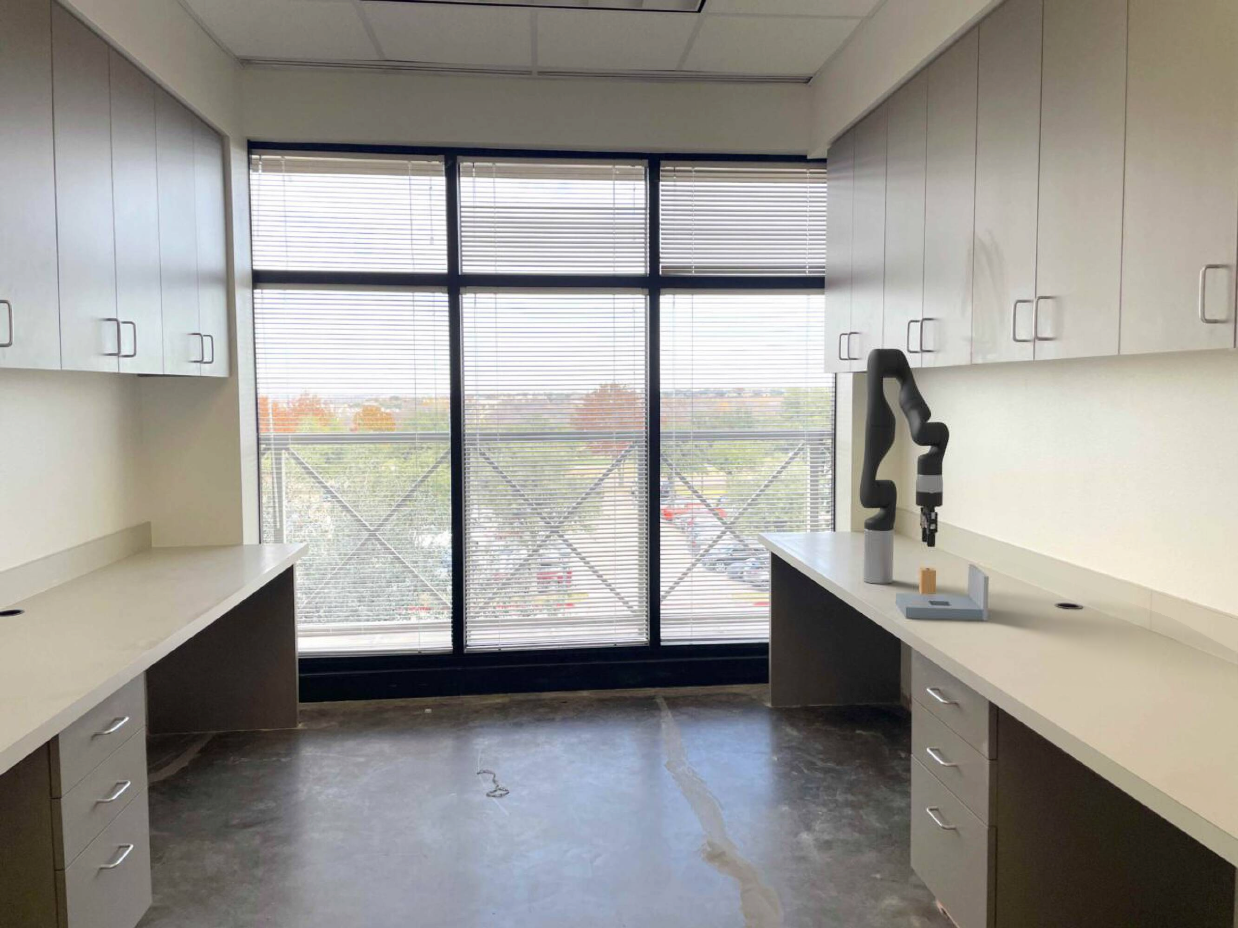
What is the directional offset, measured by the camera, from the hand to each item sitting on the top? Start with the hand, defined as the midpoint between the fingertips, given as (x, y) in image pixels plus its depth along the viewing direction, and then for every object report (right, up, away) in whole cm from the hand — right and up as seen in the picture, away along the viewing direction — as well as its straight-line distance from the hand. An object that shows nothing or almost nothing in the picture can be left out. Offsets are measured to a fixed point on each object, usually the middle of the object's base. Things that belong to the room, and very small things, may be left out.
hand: (928, 544), depth 271 cm
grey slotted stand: (-2, -18, -14) cm, 23 cm away
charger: (0, -16, +1) cm, 16 cm away
